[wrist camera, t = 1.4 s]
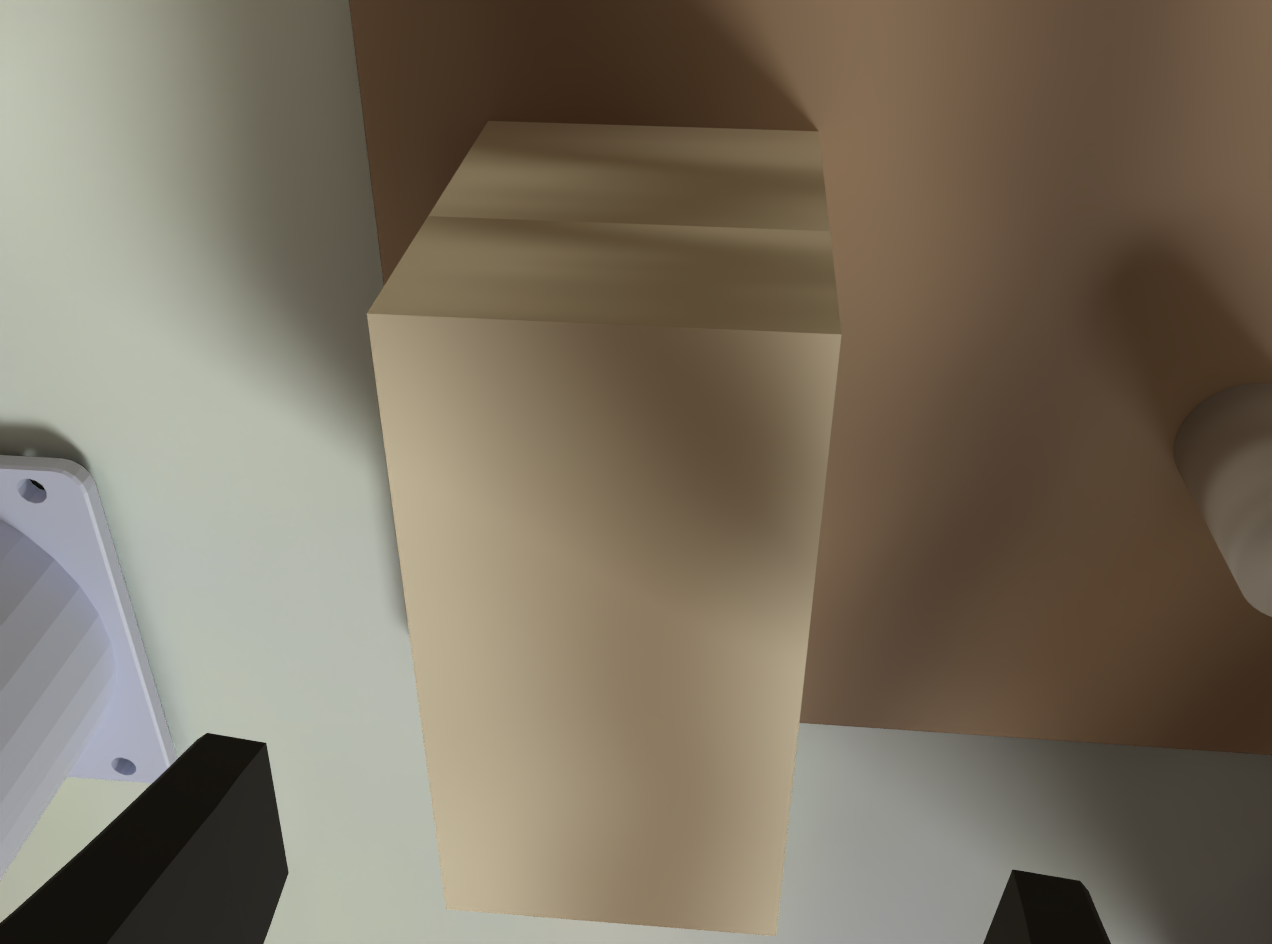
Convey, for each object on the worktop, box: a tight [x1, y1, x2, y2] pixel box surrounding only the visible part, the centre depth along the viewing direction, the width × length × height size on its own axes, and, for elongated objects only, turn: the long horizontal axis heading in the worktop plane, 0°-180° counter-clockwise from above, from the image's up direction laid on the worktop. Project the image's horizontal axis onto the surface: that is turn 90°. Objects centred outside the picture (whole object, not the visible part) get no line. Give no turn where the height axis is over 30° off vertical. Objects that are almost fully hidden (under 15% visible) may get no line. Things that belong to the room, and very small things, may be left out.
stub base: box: [349, 0, 1272, 755], centre depth 18 cm, size 18×13×4 cm
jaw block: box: [367, 121, 842, 936], centre depth 16 cm, size 4×9×6 cm, turn 0°
